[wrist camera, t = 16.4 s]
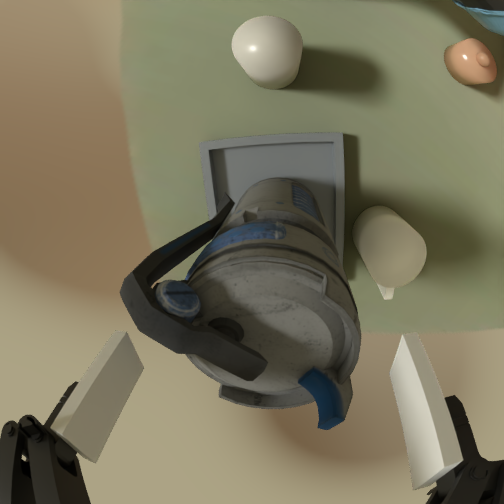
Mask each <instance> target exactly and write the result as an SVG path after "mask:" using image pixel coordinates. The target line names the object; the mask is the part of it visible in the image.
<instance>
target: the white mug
mask: <svg viewBox="0 0 504 504" xmlns="http://www.w3.org/2000/svg"><path fill="white" fill-rule="evenodd" d="M352 237H353V241H354V244H355V246H356V248H357V250H358V252H359V253H360V255H361V257H362V259H363V261H364V263H365V265H366V267H367V269H368V271H369V273H370V275H371V277H372V279H373V280H374V281H375V282H376V283H377V285H378V287H379V289H380V291H381V293H382V295H383V297H384V299H385V300H386V299H392V297H393V292H394V288H397V287H401V286H404V285H406V284H408V283H409V282H411V281H412V280H413V279H415V278H416V277H417V275H418V274H419V273H420V272H421V270H422V268H423V266H424V264H425V260H426V255H427V250H426V245H425V242H424V239H423V238H422V236H421V235H420V234H419V233H418V232H417V231H416V230H415V229H413V228H412V227H411V226H410V225H409V224H408V223H407V222H406V221H405V220H403V219H402V218H401V217H400V216H399V215H398V214H397V213H395V212H394V211H393V210H392V209H390V208H388V207H385V206H373V207H370V208H368V209H366V210H365V211H363V212H362V213H361V214H360V215H359V216H358V217H357V219H356V221H355V223H354V225H353V230H352Z"/></svg>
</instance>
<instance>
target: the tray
mask: <svg viewBox="0 0 504 504" xmlns="http://www.w3.org/2000/svg"><path fill="white" fill-rule="evenodd" d="M199 147H200V155H201V163H202V171H203V178H204V186H205V193H206V200H207V207H208V214H209V220H211V219H213V218H214V216H215V215H216V214H217V213H218V210H217V208H216V207H217V206H218V204H219V202H220V201H221V199H222V197H223V195H224V192H226V194H227V195H228V196H229V197H230V198H231V199H232V200H233V201H234V202H235V205H234V206H233V208H232V210H231V211H230V213H229V214H228V216H227V218H226V219H225V221H224V222H223V224H222V225H221V227H222V226H223V225H224V223H225V222H226V221H227V220H228V219H229V218H230V217H231V216H232V215H233V213H234V211H235V208H236V206H237V204H238V202H239V200H240V198H241V196H242V195H243V194H244V193H245V191H246V190H247V189H248V188H250V187H251V186H252V185H253V184H255V183H257V182H259V181H261V180H264V179H267V178H274V177H282V178H289V179H292V180H295V181H297V182H299V183H301V184H303V185H304V186H305V187H307V188H308V189H309V190H310V191H311V192H312V193H313V195H314V196H315V197H316V199H317V201H318V203H319V205H320V208H321V210H322V213H323V215H324V217H325V220H326V222H327V225H328V228H329V230H330V233H331V235H332V238H333V241H334V243H335V246H336V248H337V251H338V254H339V255H338V258H339V260H340V262H341V265H342V267H343V248H344V214H345V181H344V148H343V133H292V134H274V135H260V136H249V137H238V138H229V139H221V140H213V141H206V142H199ZM221 227H220V229H221ZM220 229H219V230H220ZM219 230H218V231H219ZM217 233H218V232H217ZM217 233H216V234H217ZM215 236H216V235H215ZM213 239H214V238H213ZM213 239H212V240H213Z"/></svg>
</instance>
